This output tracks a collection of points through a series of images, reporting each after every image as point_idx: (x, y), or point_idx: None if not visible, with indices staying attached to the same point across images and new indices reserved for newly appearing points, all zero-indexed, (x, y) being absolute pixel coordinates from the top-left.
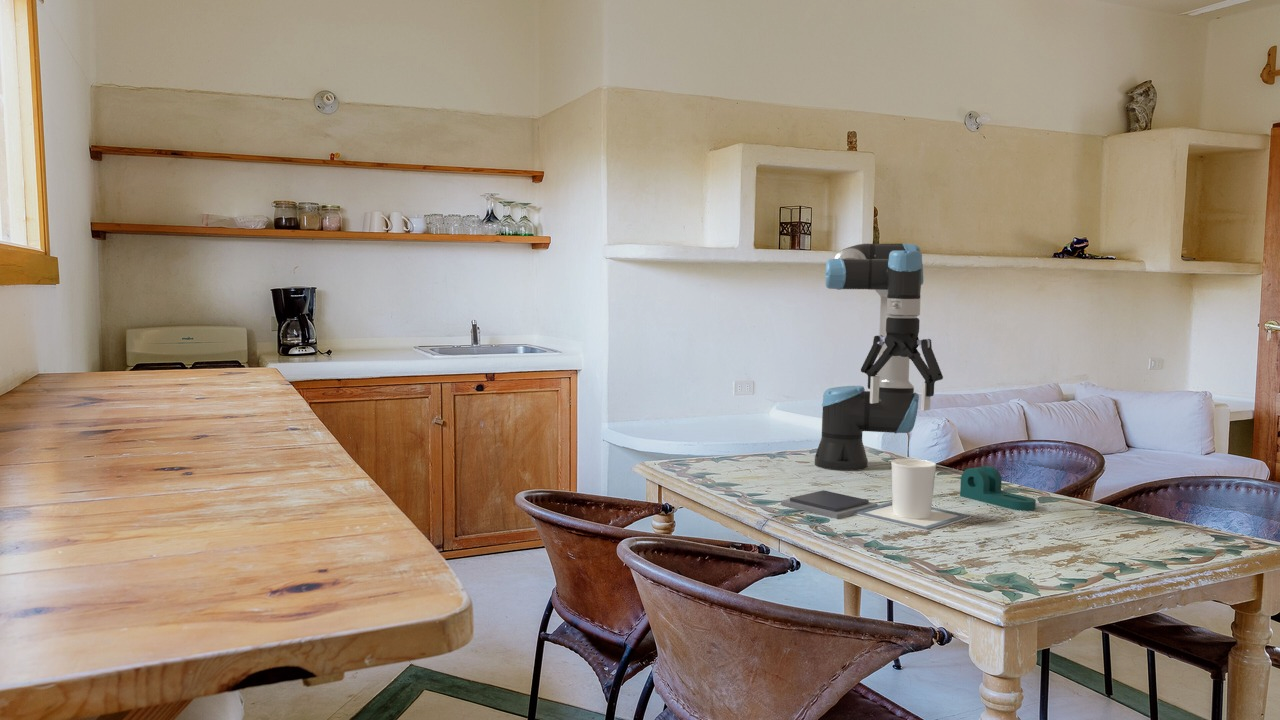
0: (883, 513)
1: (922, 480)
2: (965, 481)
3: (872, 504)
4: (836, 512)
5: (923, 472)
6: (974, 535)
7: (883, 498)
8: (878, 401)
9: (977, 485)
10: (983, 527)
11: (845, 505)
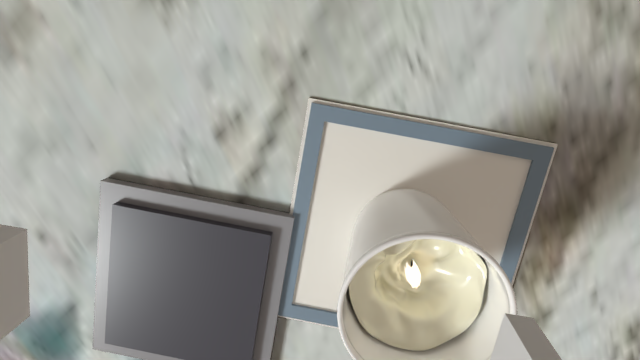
0: (337, 271)
1: (470, 338)
2: None
3: (286, 236)
4: None
5: (479, 356)
6: (599, 323)
7: (255, 83)
8: (20, 235)
9: None
10: (607, 232)
11: (252, 331)
